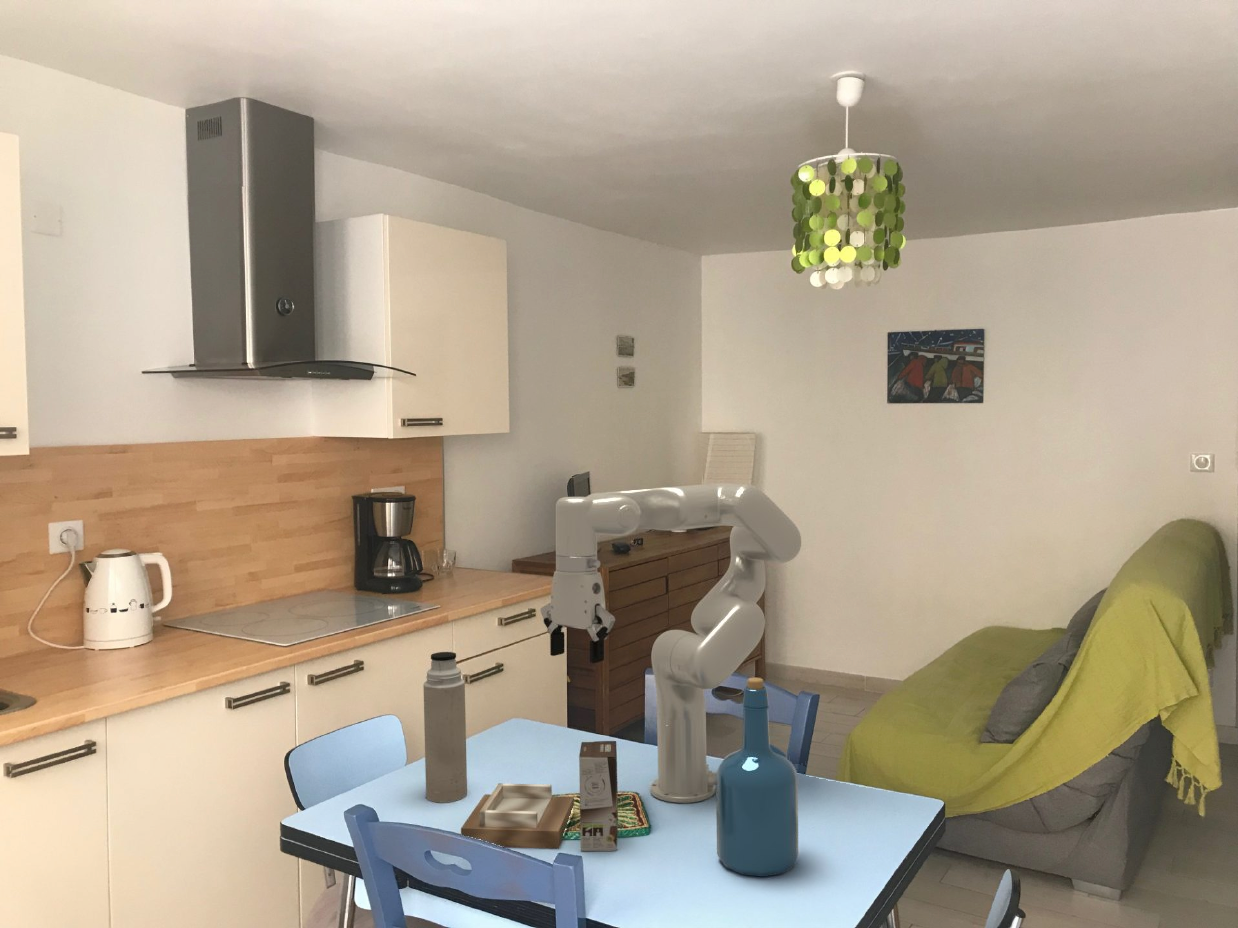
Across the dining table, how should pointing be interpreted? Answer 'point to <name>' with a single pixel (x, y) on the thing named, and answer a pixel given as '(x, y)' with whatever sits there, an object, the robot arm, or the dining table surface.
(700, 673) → the robot arm
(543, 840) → the dock
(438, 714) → the thermos bottle
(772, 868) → the wine bottle
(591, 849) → the coffee box
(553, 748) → the dining table surface
